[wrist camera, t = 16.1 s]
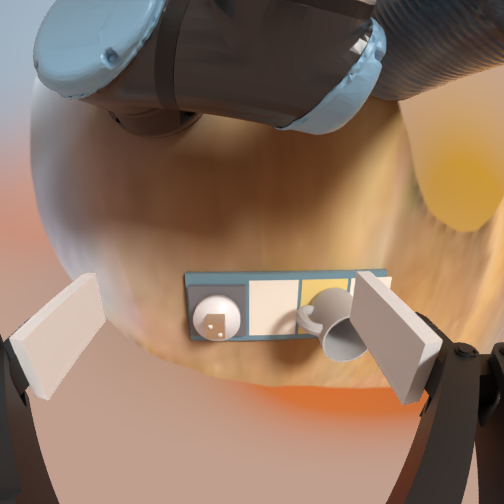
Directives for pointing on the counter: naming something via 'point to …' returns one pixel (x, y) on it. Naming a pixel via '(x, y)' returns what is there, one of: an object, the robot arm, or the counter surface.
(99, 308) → the robot arm
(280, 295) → the game board
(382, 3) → the vase
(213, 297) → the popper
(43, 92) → the counter surface
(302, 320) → the cup
